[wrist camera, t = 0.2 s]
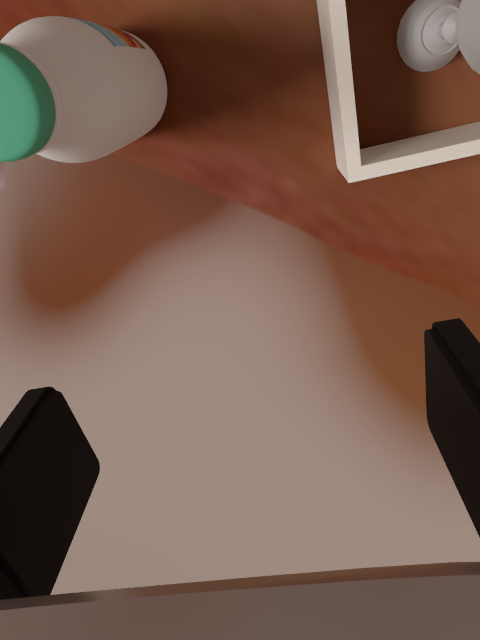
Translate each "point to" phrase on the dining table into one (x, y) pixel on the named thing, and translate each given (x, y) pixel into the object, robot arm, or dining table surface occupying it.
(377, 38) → the dining table surface
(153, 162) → the dining table surface
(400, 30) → the chalice
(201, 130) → the dining table surface
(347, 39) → the frame
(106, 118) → the milk bottle
